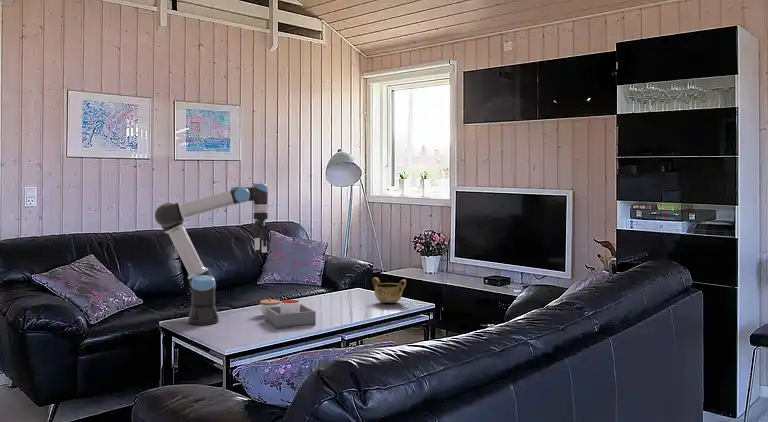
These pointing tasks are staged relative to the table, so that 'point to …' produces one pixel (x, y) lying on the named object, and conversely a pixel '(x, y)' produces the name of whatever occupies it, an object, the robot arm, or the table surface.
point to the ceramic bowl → (388, 291)
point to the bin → (290, 317)
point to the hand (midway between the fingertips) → (260, 251)
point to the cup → (289, 306)
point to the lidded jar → (268, 304)
